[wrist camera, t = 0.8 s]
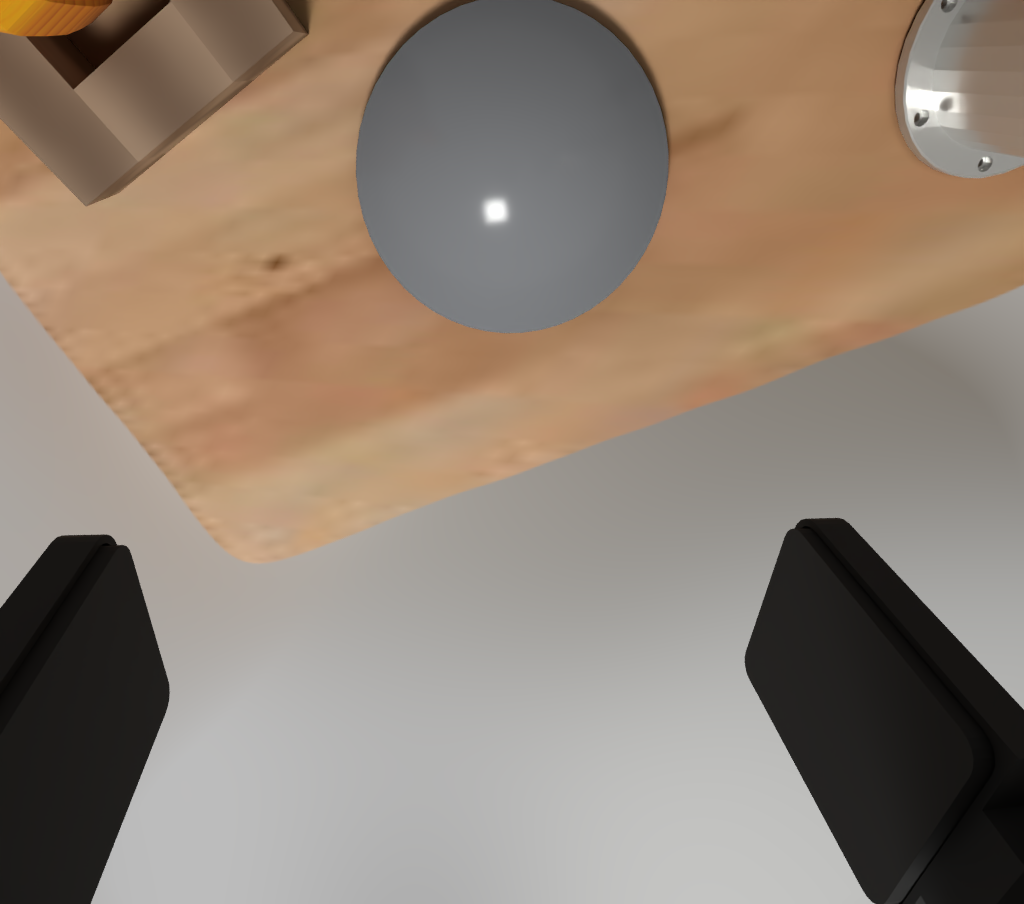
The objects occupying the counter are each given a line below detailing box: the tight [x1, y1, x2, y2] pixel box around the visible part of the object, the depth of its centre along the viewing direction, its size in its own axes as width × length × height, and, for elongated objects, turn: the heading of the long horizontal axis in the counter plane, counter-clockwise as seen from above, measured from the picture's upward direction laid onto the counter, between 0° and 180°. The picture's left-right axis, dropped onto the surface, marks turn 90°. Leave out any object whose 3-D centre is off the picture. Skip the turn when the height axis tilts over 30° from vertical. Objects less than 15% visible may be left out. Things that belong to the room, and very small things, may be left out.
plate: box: [356, 0, 668, 333], centre depth 38 cm, size 18×18×1 cm
